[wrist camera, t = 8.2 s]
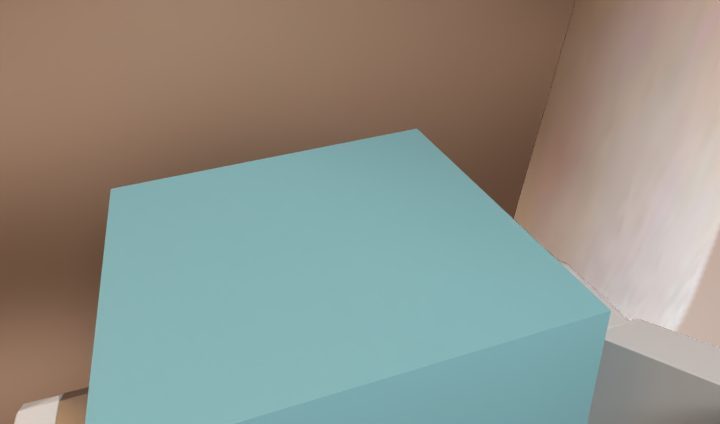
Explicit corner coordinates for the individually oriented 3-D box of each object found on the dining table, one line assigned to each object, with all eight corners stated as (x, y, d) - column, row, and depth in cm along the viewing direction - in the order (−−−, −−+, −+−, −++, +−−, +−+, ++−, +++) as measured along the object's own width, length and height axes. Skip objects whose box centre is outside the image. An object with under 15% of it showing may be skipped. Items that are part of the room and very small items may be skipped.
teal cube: (110, 188, 9) (80, 470, 5) (416, 128, 10) (611, 310, 6) (185, 409, 11) (208, 713, 7) (420, 342, 12) (555, 571, 8)
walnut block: (-47, -153, 12) (-175, -167, 7) (456, -84, 16) (593, -64, 11) (36, 300, 18) (-5, 463, 13) (393, 269, 22) (465, 385, 17)
